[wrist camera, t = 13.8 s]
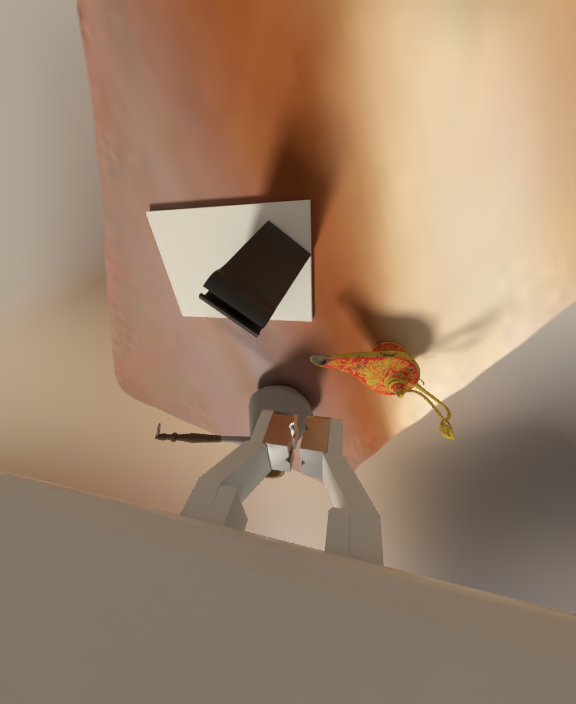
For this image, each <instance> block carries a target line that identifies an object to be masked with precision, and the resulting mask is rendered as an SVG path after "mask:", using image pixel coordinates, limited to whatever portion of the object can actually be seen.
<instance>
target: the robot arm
mask: <svg viewBox="0 0 576 704" xmlns="http://www.w3.org/2000/svg"><path fill="white" fill-rule="evenodd" d="M297 420H298V418H297V414H292V413H285V412H279V411H272V410H265V409H263V410H262V412H261V414H260V416H259V419H258V421H257V423H256V426H255V428H254V431H253V433H252V436H251V438H250V441H245V442H244V443H242V444H241V445H240V446H239V447H238V448H236V449H235V450H234V451H232V452H231V453H230V454H229V455H227V456H226V457H225V458H224V459H223V460H221V461H220V462H219V463H217V464H216V465H215V466H213V467H212V468H211V469H210V470H208V471H207V472H206V473H205V474H203V475H202V476H201V477H200V478H199V479H198V481H197V483H196V485H195V487H194V489H193V490H192V493H191V494H190V496H189V498H188V500H187V502H186V504H185V506H184V508H183V510H182V511H181V513H180V515H178V514H174V513H170V512H166V511H162V510H158V509H154V508H150V507H146V506H142V505H138V504H134V503H130V502H126V501H122V500H118V499H115V498H111V497H107V496H103V495H99V494H95V493H91V492H87V491H83V490H79V489H75V488H71V487H67V486H63V485H58V484H55V483H51V482H46V481H42V480H39V479H34V478H30V477H27V476H23V475H19V474H15V473H11V472H0V704H576V614H572V613H568V612H564V611H560V610H556V609H552V608H548V607H544V606H540V605H536V604H532V603H528V602H524V601H520V600H516V599H513V598H508V597H504V596H500V595H497V594H493V593H488V592H485V591H480V590H477V589H473V588H468V587H465V586H461V585H457V584H453V583H449V582H445V581H440V580H437V579H433V578H429V577H425V576H421V575H417V574H412V573H409V572H405V571H401V570H397V569H393V568H389V567H385V566H384V565H383V551H382V538H381V523H380V515H379V513H378V512H377V510H376V508H375V507H374V505H373V503H372V501H371V500H370V498H369V496H368V495H367V493H366V491H365V489H364V488H363V486H362V484H361V482H360V481H359V479H358V477H357V476H356V474H355V472H354V470H353V469H352V467H351V465H350V463H349V462H348V460H347V458H346V457H345V456H342V439H343V420H342V419H334V418H328V417H319V416H311V415H307V417H306V422H305V432H304V433H303V437H302V442H301V447H300V453H301V459H302V465H301V466H302V474H303V475H308V476H312V477H317V478H322V480H323V482H324V485H325V487H326V489H327V492H328V494H329V497H330V500H331V502H332V504H333V507H332V508H331V509H330V510H329V514H328V523H327V534H326V545H325V551H321V550H318V549H314V548H309V547H306V546H302V545H298V544H294V543H289V542H286V541H282V540H277V539H274V538H270V537H266V536H261V535H258V534H254V533H250V532H246V531H245V527H246V524H247V521H248V518H247V516H246V513H245V511H244V508H243V506H242V502H243V501H244V500H245V499H246V498H247V497H248V495H249V494H250V493H251V492H252V491H253V490H254V489H255V488H256V487H257V485H258V484H259V483H260V482H261V481H262V480H263V479H264V478H265V477H266V476H267V475H268V473H269V472H270V471H271V469H273V470H280V471H287V472H291V468H292V464H293V460H294V452H293V450H294V449H295V448H296V446H297V441H298V426H297Z"/></svg>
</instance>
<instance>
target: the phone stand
mask: <svg viewBox="0 0 576 704" xmlns="http://www.w3.org/2000/svg"><path fill="white" fill-rule="evenodd" d="M310 256H311V254H310V253H309V252H308V251H307V250H305V249H304V248H303V247H302V246H300V245H299V244H298V243H297V242H295V241H294V240H293V239H292V238H290V237H289V236H288V235H287V234H285V233H284V232H283V231H282V230H280V229H279V228H278V227H277V226H275V225H274V224H273V223H272V222H270V221H269V220H268V221H267V222H266V223H265V224H264V225H263V226H262V227H261V228H260V229H259V230H258V231H257V232H256V233H255V234H254V235H253V236H252V237H251V238H250V239H249V240H248V241H247V242H246V243H245V244H244V245H243V247H242V248H241V249H240V250H239V251H238V252H237V253H236V254H235V255H234V256H233V257H232V258H231V259H230V260H229V261H228V262H227V263H226V264H225V265H224V266H223V267H221V268H220V269H218V270H216V271H215V272H213V273H212V274H211V275H210V277H209V278H208V279H207V281H206V282H205V283H204V285H203V287H205V288H206V289H207V290H209V291H208V292H207V293H206V294H205V295H204V294H202V293H200V294H199V299H201V300H202V301H204V302H205V303H207V304H208V305H210V306H211V307H213V308H214V309H216V310H217V311H218V312H220V313H221V314H223V315H224V316H226V317H227V318H229V319H230V320H232V321H233V322H235V323H236V324H237V325H239V326H240V327H242V328H243V329H245V330H246V331H248V332H249V333H251V334H252V335H254V336H255V337H258V335H259V334H260V331H261V329H262V328H264V327H265V326H266V324H267V323H268V321H269V320H270V318H271V317H272V315H273V314H274V312H275V310H276V308H277V307H278V305H279V304H280V302H281V301H282V299H283V298H284V296H285V294H286V293H287V291H288V290H289V288H290V287H291V285H292V284H293V282H294V281H295V279H296V278H297V276H298V274H299V273H300V271H301V270H302V268H303V267H304V265H305V264H306V262H307V261H308V259H309V258H310Z"/></svg>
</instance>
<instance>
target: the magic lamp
mask: <svg viewBox="0 0 576 704" xmlns="http://www.w3.org/2000/svg"><path fill="white" fill-rule="evenodd" d="M310 360H311V362H312V363H313V364H315V365H317V366H321V367H326V368H330V369H336V370H341V371H345V372H348V373H350V374H352V375H354V376H356V377H357V378H358V379H360V380H361V381H362V382H363V383H364V384H365V385H366V386H368V387H369V388H370V389H371V390H373V391H375V392H377V393H380V394H385V395H397V397H399V398H402V397H403V394H405V393H406V392H415V393H417V394H419V395H420V396H422V397H423V398H424V399H426V401H428V403H430V405H431V406H432V408H434V410H435V411H436V413H438V415H439V416H441V417H440V418H441V419H443V420H442V421H441V425H440V431H441V433H442V435H443V436H444V437H446V438H448V439H453V440H454V433H453V430H452V426H451V424H450V423H449V422H448V420H449V419H450V417H451V413H450V410H449V409H448V408H447V407H446V406H445V405H444V404H443V403H442V402H441V401H439V400H438V399H437V398H435V397H434V396H433V395H431V394H430V393H429V392H427V391H426V390H425V389H423V388H422V387H421V386H420V385H419V384H418V380H421V379H419V378H420V368H419V366H418V364H417V362H416V361H415V360H414V359H413V358H412V357H411V356H409V355H407V354H406V351H405V349H404V348H403V347H402V346H401V345H400V344H398V343H394V342H383V343H379V344H377V345H375V346H374V347H373V348H372V349H371V350H370V352H354V353H346V354H339V355H331V356H322V355H313V356H311V357H310ZM421 381H422V380H421ZM422 382H423V381H422ZM423 385H424V382H423ZM414 386H415V387H416V388H418V389H419V390H421V391H422V392H424V393H425V394H427V395H428V396H429V397H431V398H432V399H434V400H435V401H436V402H437V403H439V404H440V405H441V406H443V408H445V410H446V411H447V413H448V416H447V417H446V418H445V419H444V418H443V416H442V415H441V413H440V412H439V411H438V410H437V408H436V407H435V406H434V404H433V403H432V402H431V401H430V400H429V399H428V398H427V397H426V396H425V395H423V394H421V392H420V393H419V392H417V391H416V390H415V391H414V390H411V389H412V388H413V387H414ZM445 422H447V423H448V424H449V426H450V427H449V426H447V425H445Z"/></svg>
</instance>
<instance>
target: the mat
mask: <svg viewBox="0 0 576 704" xmlns="http://www.w3.org/2000/svg"><path fill="white" fill-rule="evenodd" d="M146 215H147V217H148V220H149V223H150V226H151V229H152V231H153V234H154V237H155V240H156V243H157V245H158V248H159V251H160V254H161V257H162V259H163V262H164V265H165V268H166V270H167V273H168V276H169V279H170V282H171V284H172V287H173V290H174V293H175V296H176V298H177V301H178V304H179V307H180V310H181V312H182V315H183V316H192V317H216V318H227V317H226V316H224V315H223V314H221V313H220V312H218V311H217V310H216V309H214V308H213V307H211V306H210V305H208V304H207V303H205V302H204V301H202V300H201V299H199V294H200V293H202V294H204V295H205V294H206V293H207V292H208V291H209V290H207V289H206V288H205V287H203V285H204V283H205V282H206V281H207V279H208V278H209V277H210V275H211V274H212V273H213V272H215V271H216V270H218V269H220V268H221V267H223V266H224V265H225V264H226V263H227V262H228V261H229V260H230V259H231V258H232V257H233V256H234V255H235V254H236V253H237V252H238V251H239V250H240V249H241V248H242V247H243V245H244V244H245V243H246V242H247V241H248V240H249V239H250V238H251V237H252V236H253V235H254V234H255V233H256V232H257V231H258V230H259V229H260V228H261V227H262V226H263V225H264V224H265V223H266V222H267V221H268V220H269V221H270V222H272V223H273V224H274V225H275V226H277V227H278V228H279V229H280V230H282V231H283V232H284V233H285V234H287V235H288V236H289V237H290V238H292V239H293V240H294V241H295V242H297V243H298V244H299V245H300V246H302V247H303V248H304V249H305V250H307V251H308V252H309V253H310V254H311V200H297V201H283V202H269V203H256V204H242V205H228V206H214V207H200V208H186V209H172V210H159V211H148V212H146ZM312 319H313V317H312V257H311V256H310V258H309V259H308V261H307V262H306V264H305V265H304V267H303V268H302V270H301V271H300V273H299V274H298V276H297V278H296V279H295V281H294V282H293V284H292V285H291V287H290V288H289V290H288V291H287V293H286V294H285V296H284V298H283V299H282V301H281V302H280V304H279V305H278V307H277V308H276V310H275V312H274V314H273V315H272V317H271V318H270V320H289V321H312Z"/></svg>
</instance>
